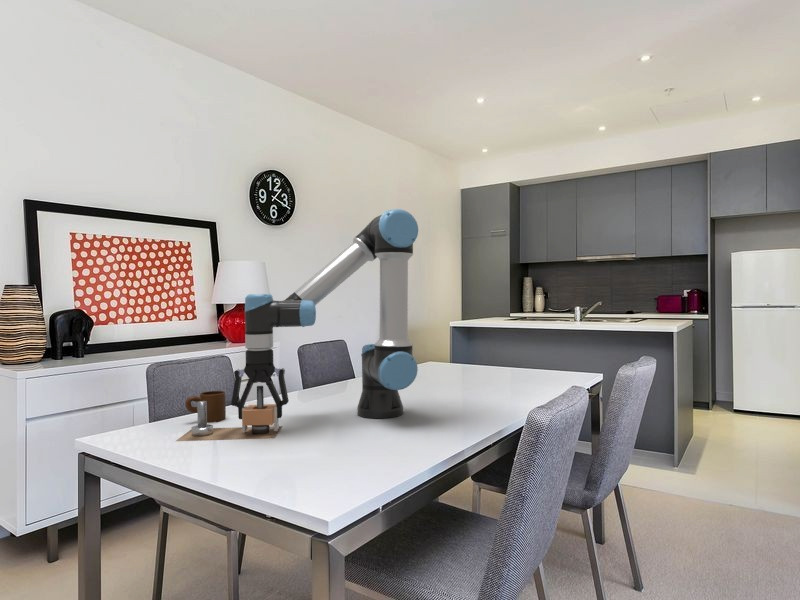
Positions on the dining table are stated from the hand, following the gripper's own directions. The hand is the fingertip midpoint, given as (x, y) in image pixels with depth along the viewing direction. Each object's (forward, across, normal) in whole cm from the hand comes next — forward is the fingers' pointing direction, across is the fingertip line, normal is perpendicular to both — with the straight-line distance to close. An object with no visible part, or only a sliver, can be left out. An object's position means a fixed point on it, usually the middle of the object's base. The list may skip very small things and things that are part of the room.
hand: (260, 430), depth 146 cm
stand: (+1, 0, 0) cm, 1 cm away
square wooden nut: (-2, 0, 0) cm, 2 cm away
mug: (+2, +20, -16) cm, 26 cm away
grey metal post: (+1, +16, 0) cm, 16 cm away
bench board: (+2, +8, 0) cm, 8 cm away
